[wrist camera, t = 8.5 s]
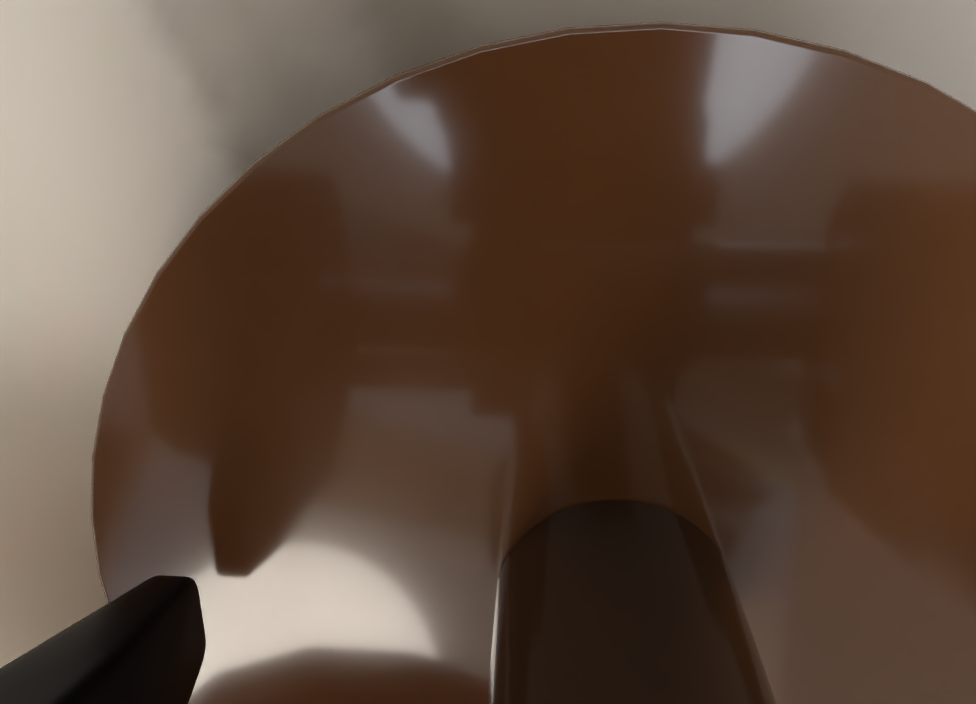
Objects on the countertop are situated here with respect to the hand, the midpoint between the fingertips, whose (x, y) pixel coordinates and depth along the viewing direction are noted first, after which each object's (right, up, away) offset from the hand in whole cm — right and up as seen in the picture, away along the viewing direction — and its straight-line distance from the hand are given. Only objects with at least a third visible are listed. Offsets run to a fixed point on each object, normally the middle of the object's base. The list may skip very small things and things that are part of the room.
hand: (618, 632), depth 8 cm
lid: (0, 0, +1) cm, 1 cm away
